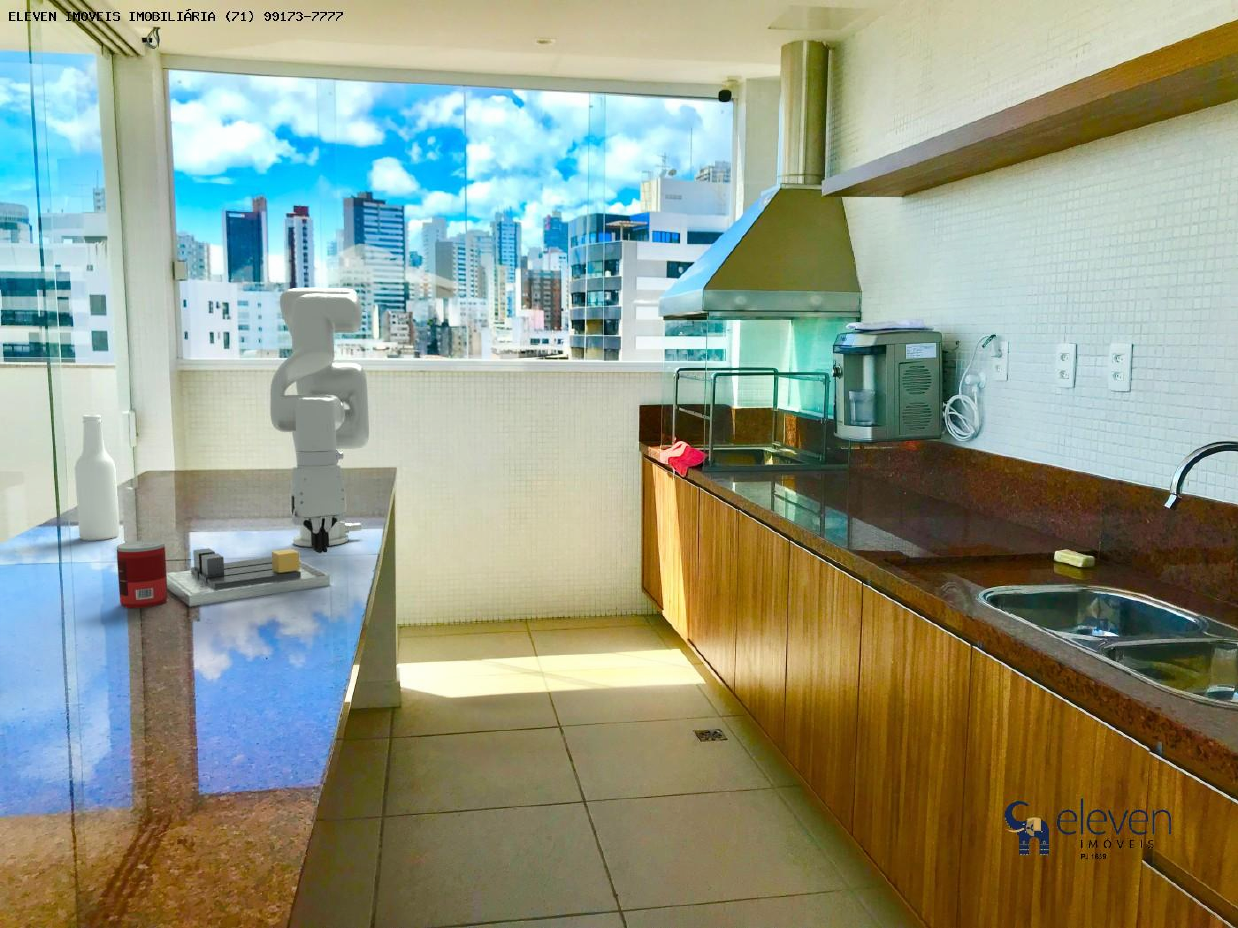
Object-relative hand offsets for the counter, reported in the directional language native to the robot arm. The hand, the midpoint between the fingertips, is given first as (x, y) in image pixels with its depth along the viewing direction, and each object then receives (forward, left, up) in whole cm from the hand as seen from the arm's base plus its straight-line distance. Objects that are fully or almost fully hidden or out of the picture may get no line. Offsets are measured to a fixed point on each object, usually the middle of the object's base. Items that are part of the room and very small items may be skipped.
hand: (320, 551), depth 195 cm
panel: (+13, -7, -6) cm, 16 cm away
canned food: (+32, -3, -6) cm, 33 cm away
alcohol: (+27, -77, -6) cm, 82 cm away
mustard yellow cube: (+7, -1, -3) cm, 7 cm away
